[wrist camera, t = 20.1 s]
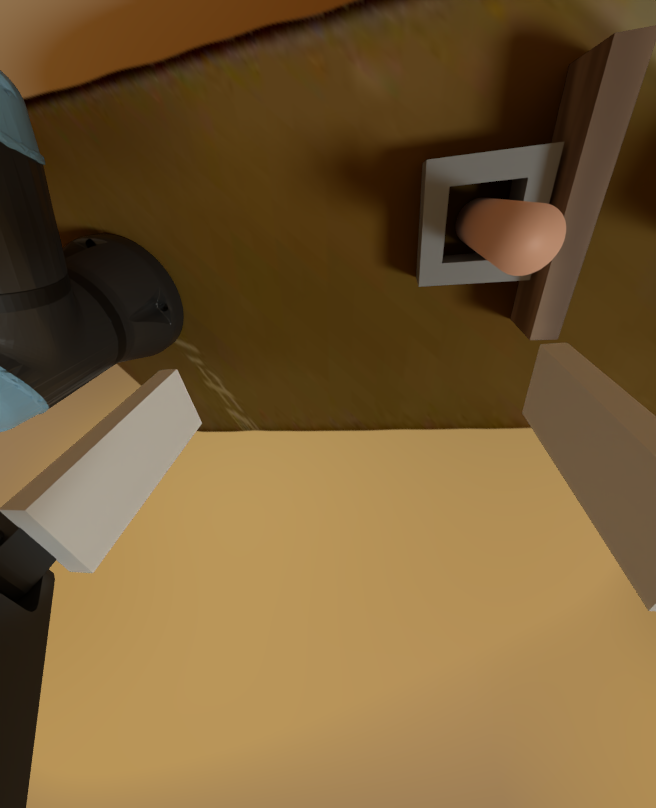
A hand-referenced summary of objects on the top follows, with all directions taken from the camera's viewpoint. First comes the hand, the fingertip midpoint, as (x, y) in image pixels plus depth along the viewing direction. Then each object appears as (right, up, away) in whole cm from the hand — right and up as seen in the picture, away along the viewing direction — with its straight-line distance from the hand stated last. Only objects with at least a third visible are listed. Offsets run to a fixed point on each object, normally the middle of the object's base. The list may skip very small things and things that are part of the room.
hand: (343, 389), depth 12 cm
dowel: (+14, +17, +19) cm, 29 cm away
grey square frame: (+13, +17, +19) cm, 29 cm away
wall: (+20, +17, +17) cm, 32 cm away
